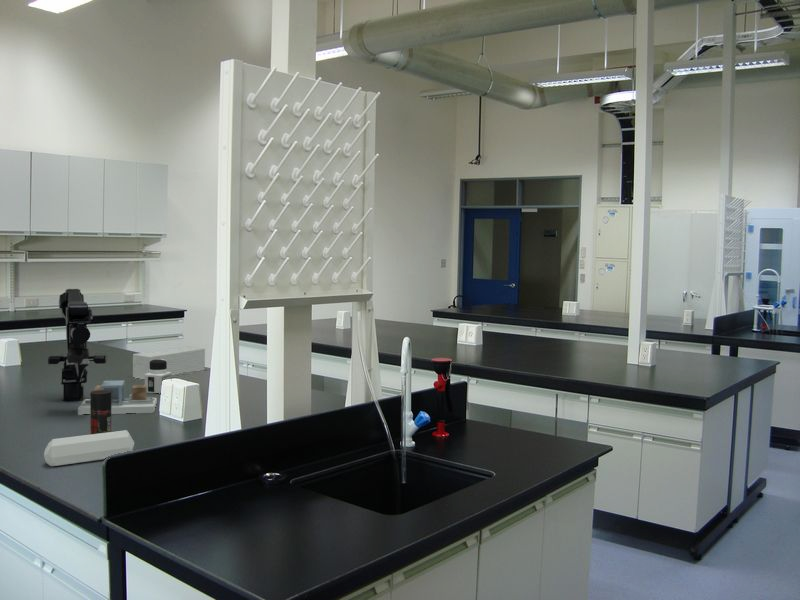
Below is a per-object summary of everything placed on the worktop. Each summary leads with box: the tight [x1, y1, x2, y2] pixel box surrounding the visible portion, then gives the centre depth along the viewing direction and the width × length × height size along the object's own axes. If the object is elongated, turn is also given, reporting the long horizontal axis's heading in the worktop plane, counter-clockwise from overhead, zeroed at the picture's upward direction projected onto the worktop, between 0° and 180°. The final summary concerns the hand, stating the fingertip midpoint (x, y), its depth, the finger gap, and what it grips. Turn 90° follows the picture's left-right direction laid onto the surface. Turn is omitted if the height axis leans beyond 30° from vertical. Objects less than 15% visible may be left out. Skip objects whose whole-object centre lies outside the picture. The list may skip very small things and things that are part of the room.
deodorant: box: [89, 390, 112, 435], centre depth 222 cm, size 6×6×15 cm
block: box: [131, 384, 148, 400], centre depth 262 cm, size 4×4×4 cm
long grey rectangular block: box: [132, 345, 206, 380], centre depth 328 cm, size 32×11×11 cm, turn 149°
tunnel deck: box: [77, 379, 158, 416], centre depth 261 cm, size 25×14×10 cm, turn 105°
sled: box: [94, 384, 154, 402], centre depth 261 cm, size 19×5×5 cm, turn 105°
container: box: [144, 359, 172, 395], centre depth 291 cm, size 8×8×13 cm
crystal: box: [43, 429, 136, 467], centre depth 204 cm, size 7×7×24 cm
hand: (78, 382), depth 257 cm, fingers closed
